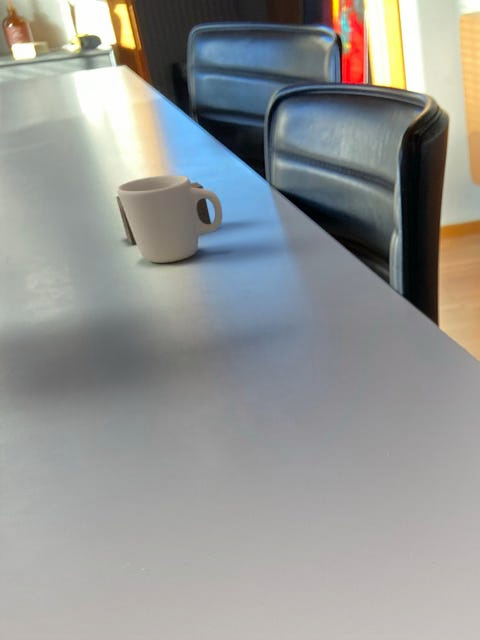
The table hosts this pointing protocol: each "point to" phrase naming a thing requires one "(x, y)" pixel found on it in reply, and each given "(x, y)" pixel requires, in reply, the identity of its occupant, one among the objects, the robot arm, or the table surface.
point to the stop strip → (201, 211)
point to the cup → (166, 216)
